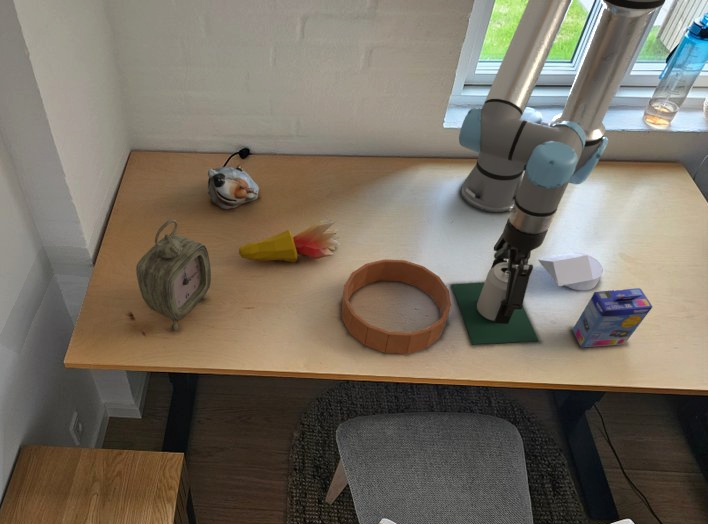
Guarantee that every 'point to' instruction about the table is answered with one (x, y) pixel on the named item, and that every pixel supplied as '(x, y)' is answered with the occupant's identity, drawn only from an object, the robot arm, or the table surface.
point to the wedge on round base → (573, 270)
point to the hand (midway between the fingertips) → (496, 301)
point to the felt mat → (487, 329)
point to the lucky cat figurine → (231, 187)
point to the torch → (294, 244)
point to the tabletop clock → (174, 275)
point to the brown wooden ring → (406, 274)
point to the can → (494, 291)
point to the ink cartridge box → (611, 317)
